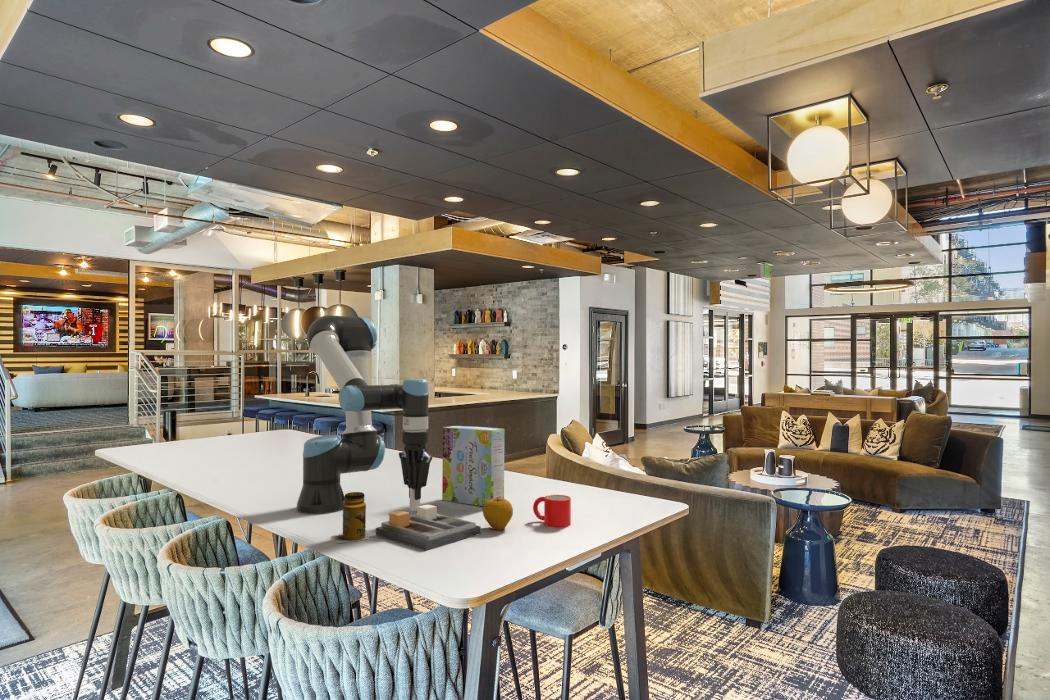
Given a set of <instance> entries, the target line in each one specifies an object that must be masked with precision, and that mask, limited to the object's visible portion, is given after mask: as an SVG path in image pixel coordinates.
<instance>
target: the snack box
mask: <svg viewBox="0 0 1050 700" xmlns="http://www.w3.org/2000/svg"><path fill="white" fill-rule="evenodd" d="M505 430H506V429H505V428H498V427H486V426H485V427H484V426H465V425H464V426H463V425H451V426H443V427H442V474H441V475H442V480H441V481H442V482H441V483H442V485H441V487H442V492H441V494H442V495H441V499H442V501H444V502H453V503H458V504H459V503H460V504H464V505H465V504H467V505H473V506H481V507H483V506H484V504H485V503H486V502H487V501H488V500H490V499H493V498H501V499H505V433H506V431H505Z"/></svg>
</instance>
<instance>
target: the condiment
mask: <svg viewBox="0 0 1050 700" xmlns="http://www.w3.org/2000/svg"><path fill="white" fill-rule="evenodd" d="M344 497H345V500H344V502H345V503H344V505H343V509H342V534H337V535H331V538H332V539H333V540H334V541H335V542H336V543H338V544H343V543H350V542H357V541H363V540H369V539H370V537H369V536H367V535H366V517H367V516H366V509H367V504H366V502H365V494H364V492H362V491H361V492H360V491H354V492H347V493H345V495H344Z"/></svg>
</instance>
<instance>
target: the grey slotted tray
mask: <svg viewBox="0 0 1050 700" xmlns="http://www.w3.org/2000/svg"><path fill="white" fill-rule="evenodd" d="M380 525H381V526H378V527H375V536H377V537H381V538H384V539H388V540H390V541H393V542H396V543H400V544H404V545H407V546H410V547H413V548H416V549H418V550H422V551H429V550H432V549H435V548H438V547H443V546H445V545H448V544H451V543H454V542H455V543H456V542H458V541H463V540H465V539H467V538H472V537H475V536H479V535H481V532H482V531H481V526H480V525H477V524H476V522H473V521H469V520H464V519H461V518H457V517H456V518H455V517H452V516H449V515H443V514H441V513H437V519H433V520H429V519H425V518H421V517H417V513H415V514H412V515H411V514H410V526H406V527H400V526H397V525H393V524H390V523H389V520H387V521H383V522H381V524H380Z"/></svg>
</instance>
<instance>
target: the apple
mask: <svg viewBox="0 0 1050 700" xmlns="http://www.w3.org/2000/svg"><path fill="white" fill-rule="evenodd" d="M513 514H514V509H513V505H512V504H511V502H510V501H509V500H507V499H505V498H504V499H501V498H493V499H490V500H488V501H487V502H486V503H485V504H484V506H482V515H483V517H484V520H485V521H486V522H487V524H488V525H489V526H490V528H492V529H493V530H497V531H502V530H504V529H505V528H506V527H507V526H508V524H509V523H510V521H511V520H512V518H513Z"/></svg>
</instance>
